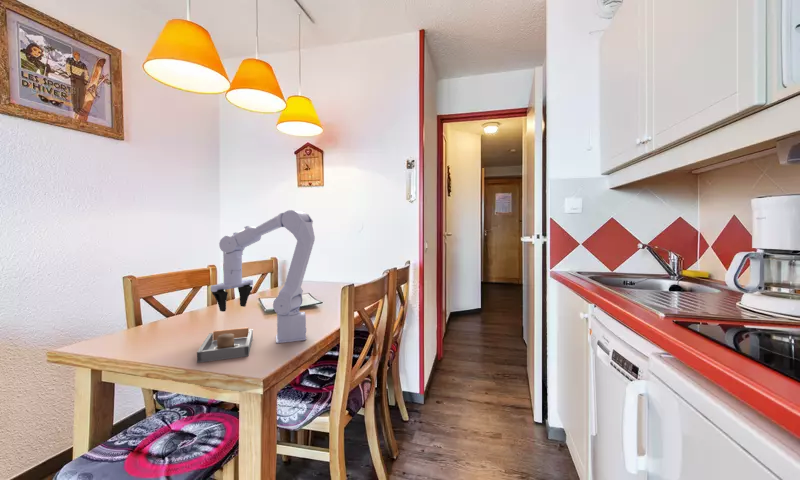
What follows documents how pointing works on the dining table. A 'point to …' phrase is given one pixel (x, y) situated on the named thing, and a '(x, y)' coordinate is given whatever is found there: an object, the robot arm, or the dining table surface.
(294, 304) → the robot arm
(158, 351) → the dining table surface
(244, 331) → the gate
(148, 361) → the dining table surface
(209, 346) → the housing
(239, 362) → the dining table surface
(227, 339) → the brown rounded block
